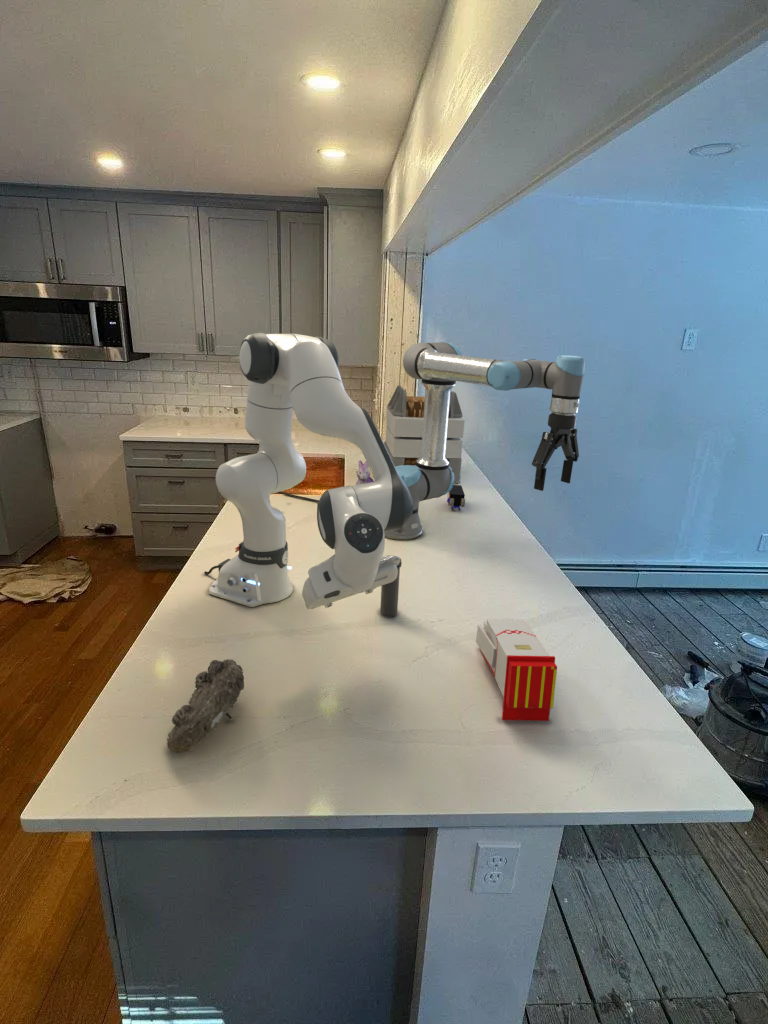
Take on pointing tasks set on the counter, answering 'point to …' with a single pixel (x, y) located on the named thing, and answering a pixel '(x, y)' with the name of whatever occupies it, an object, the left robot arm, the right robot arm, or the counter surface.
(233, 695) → the fossil
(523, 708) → the toy
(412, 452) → the grey slatted wooden crate
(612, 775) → the counter surface
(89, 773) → the counter surface
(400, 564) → the lid
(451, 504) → the figurine character
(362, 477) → the figurine
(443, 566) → the counter surface
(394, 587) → the jar
